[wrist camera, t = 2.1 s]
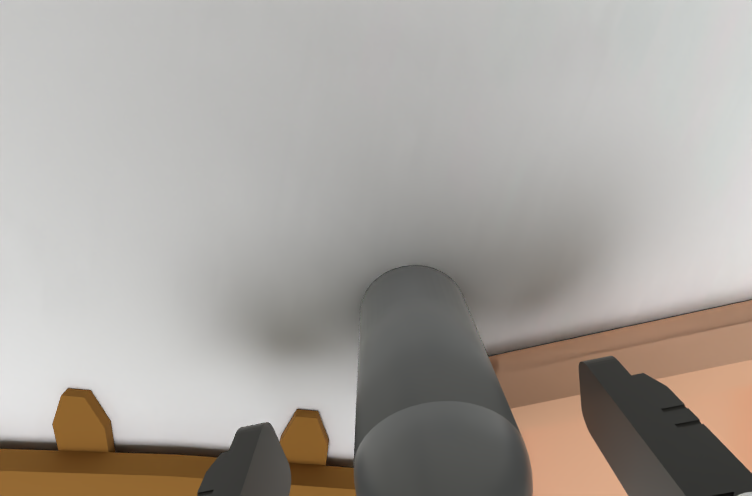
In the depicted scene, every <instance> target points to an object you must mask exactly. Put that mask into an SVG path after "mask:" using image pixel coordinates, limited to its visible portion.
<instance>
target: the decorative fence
mask: <svg viewBox="0 0 752 496" xmlns="http://www.w3.org/2000/svg"><path fill="white" fill-rule="evenodd" d="M52 425H53V429H54V434H55V438H56V442H57V447H58V451H53V450H22V449H0V496H197V492H198V490H199V487H200V485H201V483H202V480H203V478H204V476H205V473H206V471H207V470H208V469H209V468H210V466H211V465H212V464H213V463H214V461H215V460H216V459H217V457H204V456H191V455H175V454H145V453H116V452H115V446H114V439H113V433H112V427H111V421H110V419H109V418H108V416H107V415H106V413H105V412H104V410H103V408H102V407H101V405H100V404H99V402H98V401H97V399H96V398H95V396H94V394H93V393H92V391H91V390H81V389H70V388H68V389H67V390H66V391H65V392H64V393H63V394H62V395H61V398H60V401H59V404H58V408H57V411H56V414H55V417H54V421H53V424H52ZM328 443H329V439H328V436H327V434H326V431H325V428H324V426H323V423H322V420H321V417H320V415H319V412H318V411H312V410H301V409H297V410H296V412H295V413H294V415H293V417H292V418H291V420H290V422H289V423H288V425H287V427H286V428H285V430H284V432H283V433H282V435H281V438H280V444H281V447H282V449H283V451H284V453H285V456H286V458H287V460H288V463H289V466H290V471H291V488H290V493H289V496H356V491H355V484H354V468H349V467H336V466H326V460H327V452H328Z"/></svg>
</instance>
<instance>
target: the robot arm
mask: <svg viewBox="0 0 752 496" xmlns="http://www.w3.org/2000/svg"><path fill="white" fill-rule="evenodd" d="M579 382H580V396H581V409H582V414H583V418H584V421H585V424H586V426H587V428H588V431H589V433H590V434H591V436H592V438H593V439H594V441H595V443H596V444H597V446H598V448H599V449H600V451H601V452H602V454H603V456H604V457H605V459H606V460H607V462H608V464H609V465H610V467H611V469H612V470H613V472H614V473H615V475H616V477H617V478H618V480H619V481H620V483H621V485H622V486H623V488H624V490H625V491H626V493H627V494H628V496H752V473H751V472H750V471H749V470H748V469H747V468H746V467H745V466H744V465H743V464H742V463H741V462H740V461H739V460H738V459H737V458H736V457H735V456H734V454H733V453H732V452H731V451H730V450H729V449H728V448H727V447H726V446H725V445H724V444H723V443H722V442H721V441H720V440H719V439H718V438H717V437H716V436H715V435H714V434H713V433H712V432H711V431H710V430H709V429H708V428H707V427H706V426H705V425H704V424H701V422H700V419H699V418H698V417H697V416H696V415H695V414H694V413H693V412H692V411H691V410H690V409H689V408H686V407H685V404H684V403H683V402H682V401H681V400H680V399H679V398H678V397H677V396H676V395H675V394H674V393H673V392H672V391H671V390H670V389H669V388H668V387H667V386H666V385H664V384H662V383H660V382H659V381H657V380H655V379H653V378H652V377H650V376H648V375H646V374H645V373H640V374H635V375H631V374H630V373H629V372H628V371H627V370H626V369H625V368H624V367H623V365H622V364H621V363H620V362H619V361H618V360H617V359H616V358H615V357H613V356H607V357H602V358H597V359H591V360H586V361H581V362H580V363H579ZM290 488H291V471H290V466H289V463H288V460H287V458H286V456H285V453H284V451H283V449H282V447H281V444H280V442H279V440H278V438H277V435H276V433H275V431H274V429H273V427H272V425H271V424H270V423H268V422H266V423H261V424H256V425H251V426H246V427H241V428H239V429H238V431H237V432H236V434H235V437H234V439H233V442H232V445H231V447H230V450H229V451H228V452H223V453H221V454H220V455H219V456H218V458H217V459H216V460H215V461H214V463H213V464H212V465H211V466H210V468H209V469H208V470H207V471H206V473H205V476H204V478H203V480H202V483H201V485H200V487H199V490H198V492H197V496H289V493H290Z"/></svg>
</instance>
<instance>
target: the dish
mask: <svg viewBox="0 0 752 496" xmlns="http://www.w3.org/2000/svg"><path fill="white" fill-rule="evenodd" d="M607 356H613V357H615V358H616V359H617V360H618V361H619V362H620V363H621V364H622V365H623V367H624V368H625V369H626V370H627V371H628V372H629V373H630V374H631V375H635V374H640V373H645V374H646V375H648V376H650V377H652V378H653V379H655V380H657V381H659V382H660V383H662V384H664V385H666V386H667V387H668V388H669V389H670V390H671V391H672V392H673V393H674V394H675V395H676V396H677V397H678V398H679V399H680V400H681V401H682V402H683V403H684V404H685V407H686V408H689V409H690V410H691V411H692V412H693V413H694V414H695V415H696V416H697V417H698V418H699V419H700V422H701V424H704V425H705V426H706V427H707V428H708V429H709V430H710V431H711V432H712V433H713V434H714V435H715V436H716V437H717V438H718V439H719V440H720V441H721V442H722V443H723V444H724V445H725V446H726V447H727V448H728V449H729V450H730V451H731V452H732V453H733V454H734V456H735V457H736V458H737V459H738V460H739V461H740V462H741V463H742V464H743V465H744V466H745V467H746V468H747V469H748V470H749V471H750V472H751V473H752V300H749V301H745V302H740V303H736V304H731V305H726V306H722V307H717V308H712V309H708V310H703V311H698V312H694V313H689V314H684V315H680V316H675V317H670V318H666V319H661V320H657V321H652V322H647V323H643V324H638V325H633V326H629V327H624V328H619V329H615V330H610V331H605V332H601V333H596V334H591V335H587V336H582V337H578V338H573V339H568V340H564V341H559V342H554V343H550V344H545V345H540V346H536V347H531V348H526V349H522V350H517V351H512V352H508V353H503V354H499V355H494V356H489V359H490V362H491V364H492V366H493V369H494V371H495V374H496V376H497V378H498V381H499V383H500V385H501V388H502V390H503V393H504V395H505V397H506V400H507V402H508V404H509V407H510V409H511V412H512V414H513V416H514V419H515V421H516V423H517V426H518V428H519V431H520V433H521V435H522V438H523V440H524V442H525V445H526V448H527V451H528V454H529V458H530V463H531V468H532V477H533V495H532V496H628V494H627V493H626V491H625V490H624V488H623V486H622V485H621V483H620V481H619V480H618V478H617V477H616V475H615V473H614V472H613V470H612V469H611V467H610V465H609V464H608V462H607V460H606V459H605V457H604V456H603V454H602V452H601V451H600V449H599V448H598V446H597V444H596V443H595V441H594V439H593V438H592V436H591V434H590V433H589V431H588V428H587V426H586V424H585V421H584V418H583V414H582V409H581V396H580V382H579V363H580V362H581V361H586V360H591V359H597V358H602V357H607Z"/></svg>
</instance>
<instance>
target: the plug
mask: <svg viewBox="0 0 752 496" xmlns="http://www.w3.org/2000/svg"><path fill="white" fill-rule="evenodd" d="M354 484H355V491H356V496H532V495H533V477H532V468H531V463H530V458H529V454H528V451H527V448H526V445H525V442H524V440H523V438H522V435H521V433H520V431H519V428H518V426H517V423H516V421H515V419H514V416H513V414H512V412H511V409H510V407H509V404H508V402H507V400H506V397H505V395H504V393H503V390H502V388H501V385H500V383H499V381H498V378H497V376H496V374H495V371H494V369H493V366H492V364H491V362H490V359H489V357H488V355H487V352H486V350H485V347H484V345H483V343H482V340H481V338H480V336H479V333H478V331H477V328H476V326H475V324H474V321H473V319H472V317H471V314H470V312H469V309H468V307H467V305H466V302H465V300H464V297H463V295H462V293H461V291H460V289H459V287H458V286H457V284H456V283H455V282H454V281H453V280H452V279H451V278H450V277H448V276H447V275H446V274H444V273H442V272H440V271H438V270H436V269H433V268H430V267H425V266H405V267H400V268H396V269H393V270H391V271H389V272H387V273H385V274H383V275H382V276H380V277H379V278H378V279H376V280H375V281H374V282H373V283H372V284H371V285H370V287H369V288H368V289H367V291H366V293H365V295H364V297H363V299H362V303H361V308H360V329H359V353H358V376H357V400H356V424H355V448H354Z"/></svg>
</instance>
